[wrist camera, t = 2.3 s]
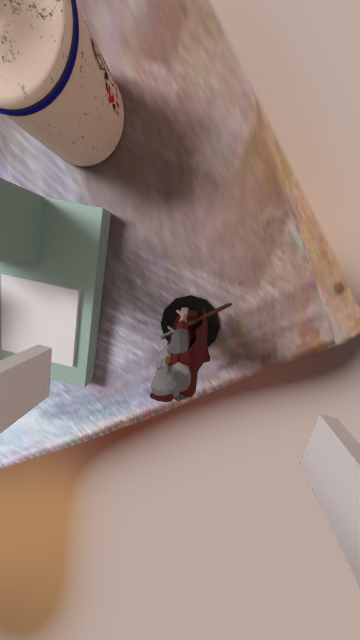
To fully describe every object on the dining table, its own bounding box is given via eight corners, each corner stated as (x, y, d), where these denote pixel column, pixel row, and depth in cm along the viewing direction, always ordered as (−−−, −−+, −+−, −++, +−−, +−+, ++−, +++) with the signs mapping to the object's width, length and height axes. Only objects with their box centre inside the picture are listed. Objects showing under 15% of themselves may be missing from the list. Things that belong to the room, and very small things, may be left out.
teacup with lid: (147, 121, 21) (76, -50, 10) (84, 190, 23) (-33, 116, 12) (62, 7, 20) (-129, -334, 9) (4, 92, 22) (-209, -94, 11)
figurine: (161, 293, 25) (94, 328, 10) (227, 296, 24) (257, 337, 9) (161, 350, 26) (102, 450, 12) (223, 354, 25) (243, 467, 11)
